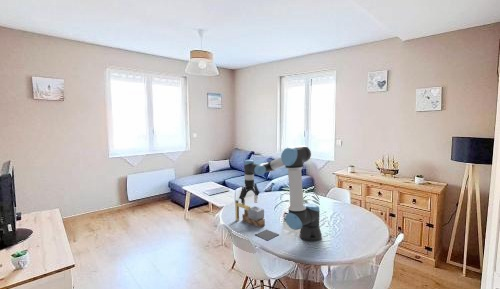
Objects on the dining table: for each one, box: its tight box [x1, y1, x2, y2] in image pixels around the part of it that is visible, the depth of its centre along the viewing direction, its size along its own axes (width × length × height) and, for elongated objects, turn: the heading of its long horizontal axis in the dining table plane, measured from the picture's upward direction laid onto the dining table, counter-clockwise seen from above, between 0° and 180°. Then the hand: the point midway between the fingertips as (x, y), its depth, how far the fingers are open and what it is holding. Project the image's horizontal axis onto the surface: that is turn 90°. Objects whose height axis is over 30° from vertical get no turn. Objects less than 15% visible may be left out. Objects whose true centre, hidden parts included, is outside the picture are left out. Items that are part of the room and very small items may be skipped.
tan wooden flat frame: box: [234, 199, 251, 222], centre depth 210 cm, size 16×3×16 cm, turn 44°
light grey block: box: [248, 206, 265, 221], centre depth 208 cm, size 10×8×7 cm
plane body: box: [241, 208, 266, 228], centre depth 210 cm, size 20×5×9 cm, turn 44°
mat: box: [254, 229, 279, 241], centre depth 189 cm, size 12×12×1 cm
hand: (249, 204), depth 215 cm, fingers open, 13 cm apart
